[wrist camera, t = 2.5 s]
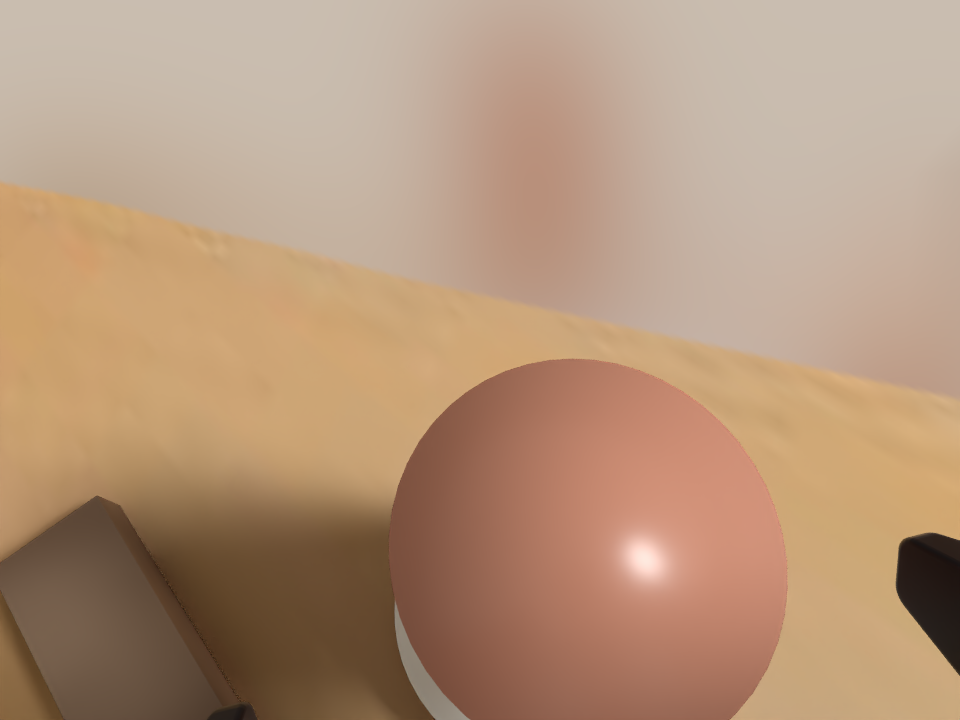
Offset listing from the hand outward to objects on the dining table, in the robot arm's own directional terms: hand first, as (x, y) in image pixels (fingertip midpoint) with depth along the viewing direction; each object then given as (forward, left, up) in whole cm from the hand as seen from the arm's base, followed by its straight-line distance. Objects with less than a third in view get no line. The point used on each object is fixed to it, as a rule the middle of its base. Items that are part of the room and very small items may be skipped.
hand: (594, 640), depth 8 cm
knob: (+1, +1, -9) cm, 9 cm away
